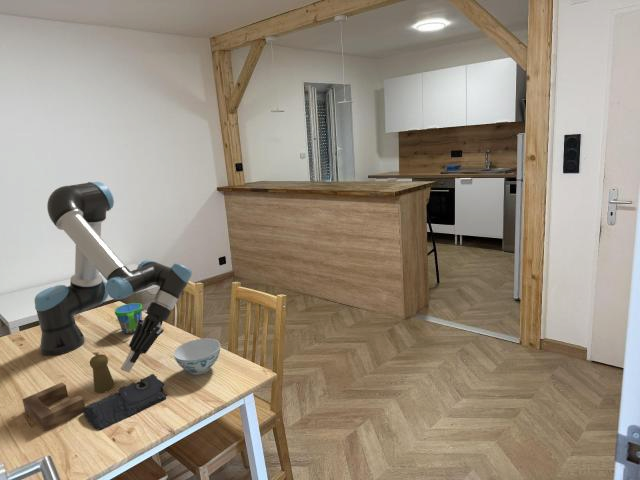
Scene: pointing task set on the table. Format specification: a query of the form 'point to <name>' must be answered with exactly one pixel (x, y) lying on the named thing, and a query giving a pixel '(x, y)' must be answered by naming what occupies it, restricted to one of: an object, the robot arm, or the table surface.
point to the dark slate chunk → (125, 402)
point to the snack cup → (129, 316)
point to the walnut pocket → (57, 414)
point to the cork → (101, 374)
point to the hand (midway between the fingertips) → (124, 370)
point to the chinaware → (197, 355)
